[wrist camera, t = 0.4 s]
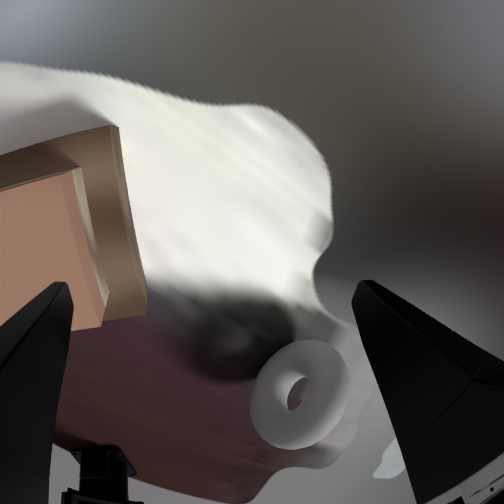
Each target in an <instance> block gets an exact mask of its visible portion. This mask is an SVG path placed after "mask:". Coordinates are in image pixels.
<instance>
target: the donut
mask: <svg viewBox="0 0 504 504" xmlns="http://www.w3.org/2000/svg"><path fill="white" fill-rule="evenodd" d="M303 377H307V379H308V391H307V395H306V397H305V399H304V401H303V402H302V403H301V404H300V406H299V407H298V408H296V409H295V410H293V411H289V410H288V408H287V397H288V393H289V391H290V389H291V387H292V386H293V385H294V383H295V382H296V381H298V380H299V379H300V378H303ZM349 393H350V379H349V372H348V367H347V366H346V364H345V362H344V360H343V358H342V356H341V354H340V353H339V352H337V351H336V350H335V349H334V348H332V347H331V346H330V345H329V344H327V343H324V342H320V341H316V340H312V339H309V340H302V341H295V342H293V343H291V344H289V345H287V346H285V347H283V348H281V349H280V350H279V351H277V352H276V353H275V354H274V355H273V356H271V357H270V358H269V359H268V361H267V362H266V363H265V365H264V366H263V367H262V368H261V370H260V372H259V374H258V376H257V378H256V380H255V382H254V385H253V389H252V392H251V396H250V414H251V418H252V423H253V425H254V427H255V428H256V430H257V432H258V433H259V435H260V436H261V437H262V438H263V439H264V440H266V441H267V442H268V443H270V444H271V445H273V446H275V447H278V448H284V449H290V450H293V449H299V448H303V447H308V446H311V445H312V444H314V443H316V442H317V441H319V440H321V439H322V438H324V437H325V436H327V435H328V434H329V433H330V432H331V430H332V429H333V428H334V427H335V426H336V425H337V424H338V422H339V421H340V419H341V417H342V415H343V413H344V411H345V409H346V407H347V404H348V399H349Z"/></svg>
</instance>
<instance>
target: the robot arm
mask: <svg viewBox="0 0 504 504" xmlns="http://www.w3.org/2000/svg"><path fill="white" fill-rule="evenodd" d="M352 308H353V312H354V315H355V319H356V322H357V326H358V330H359V333H360V337H361V340H362V343H363V346H364V349H365V352H366V354H367V357H368V360H369V362H370V365H371V367H372V370H373V373H374V375H375V378H376V381H377V383H378V386H379V389H380V392H381V394H382V397H383V400H384V402H385V405H386V408H387V411H388V414H389V417H390V420H391V423H392V426H393V428H394V431H395V434H396V437H397V441H398V444H399V447H400V450H401V452H402V456H403V460H404V463H405V466H406V469H407V472H408V476H409V479H410V482H411V486H412V489H413V493H414V496H415V499H416V503H417V504H426V503H428V502H430V501H432V500H434V499H436V498H438V497H440V496H441V495H443V494H445V493H447V492H449V491H451V490H452V489H454V488H456V487H458V489H459V491H460V494H461V496H460V497H458V498H457V499H455V500H453V501H451V502H450V503H448V504H504V361H503V360H501V359H499V358H497V357H496V356H494V355H492V354H490V353H488V352H487V351H485V350H483V349H482V348H480V347H478V346H477V345H475V344H473V343H472V342H470V341H468V340H467V339H465V338H464V337H462V336H460V335H459V334H457V333H456V332H454V331H452V330H451V329H450V328H448V327H447V326H445V325H444V324H442V323H440V322H439V321H437V320H436V319H434V318H433V317H431V316H430V315H428V314H426V313H425V312H423V311H422V310H420V309H418V308H417V307H415V306H414V305H412V304H411V303H409V302H407V301H406V300H404V299H403V298H401V297H399V296H398V295H396V294H395V293H393V292H391V291H390V290H388V289H386V288H385V287H383V286H382V285H380V284H378V283H376V282H375V281H374V280H372V279H362V280H360V281H359V282H358V284H357V287H356V289H355V292H354V295H353V298H352ZM73 312H74V304H73V300H72V296H71V293H70V289H69V286H68V284H67V283H66V282H63V281H55V282H53V283H52V284H50V285H49V286H48V287H47V288H45V289H44V290H43V291H42V292H40V293H39V294H38V295H37V296H35V297H34V298H33V299H32V300H30V301H29V302H28V303H27V304H26V305H24V306H23V307H22V308H21V309H20V310H18V311H17V312H16V313H15V314H14V315H13V316H11V317H10V318H9V319H8V320H7V321H6V322H4V323H3V324H2V325H1V326H0V504H48V499H49V475H50V463H51V453H52V444H53V435H54V428H55V421H56V414H57V408H58V402H59V396H60V390H61V385H62V380H63V375H64V370H65V365H66V361H67V356H68V349H69V341H70V333H71V326H72V319H73ZM71 454H72V455H73V457H74V458H75V459H76V460H77V462H78V463H79V464H80V484H79V491H77V490H73V489H72V488H68V491H67V492H62V497H61V504H144V503H143V502H140V501H139V502H135V501H129V496H128V477H132V476H136V475H137V472H136V471H135V469H134V468H133V467H132V465H131V464H130V462H129V461H128V459H127V458H126V456H125V455H124V454H123V452H122V451H121V449H120V448H118V447H106V448H88V449H72V450H71Z"/></svg>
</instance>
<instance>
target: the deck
mask: <svg viewBox="0 0 504 504" xmlns="http://www.w3.org/2000/svg"><path fill="white" fill-rule="evenodd" d="M77 167H81V169H82V175H83V181H84V187H85V192H86V197H87V203H88V208H89V213H90V217H91V222H92V227H93V231H94V235H95V240H96V244H97V248H98V252H99V256H100V260H101V264H102V268H103V271H104V275H105V279H106V282H107V286H108V289H109V296H108V300H107V303H106V307H105V311H104V315H103V319H102V321H107V320H114V319H120V318H126V317H132V316H137V315H143V314H146V303H147V284H146V280H145V276H144V271H143V267H142V263H141V258H140V254H139V249H138V244H137V239H136V234H135V229H134V224H133V219H132V214H131V208H130V202H129V197H128V191H127V185H126V178H125V172H124V165H123V158H122V150H121V142H120V134H119V127H115V126H110V125H109V126H104V127H99V128H95V129H91V130H86V131H82V132H78V133H74V134H70V135H66V136H63V137H59V138H55V139H52V140H48V141H45V142H41V143H38V144H35V145H31V146H28V147H25V148H22V149H19V150H16V151H13V152H10V153H7V154H4V155H1V156H0V189H2V188H5V187H8V186H11V185H14V184H18V183H21V182H25V181H28V180H31V179H35V178H39V177H42V176H46V175H50V174H53V173H57V172H61V171H65V170H69V169H73V168H77Z"/></svg>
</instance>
